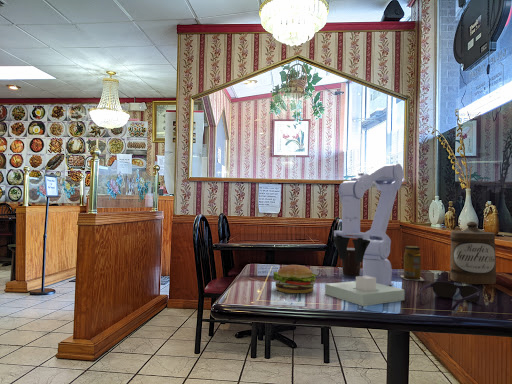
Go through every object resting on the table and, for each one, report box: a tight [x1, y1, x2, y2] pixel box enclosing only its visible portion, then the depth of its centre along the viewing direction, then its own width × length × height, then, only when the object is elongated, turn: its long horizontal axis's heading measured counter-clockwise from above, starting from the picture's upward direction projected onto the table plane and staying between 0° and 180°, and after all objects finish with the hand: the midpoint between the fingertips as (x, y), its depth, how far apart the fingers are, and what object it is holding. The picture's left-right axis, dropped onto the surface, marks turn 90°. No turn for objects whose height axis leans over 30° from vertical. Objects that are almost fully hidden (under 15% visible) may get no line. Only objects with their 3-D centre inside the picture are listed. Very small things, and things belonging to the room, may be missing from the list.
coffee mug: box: [341, 247, 362, 277], centre depth 156 cm, size 12×9×10 cm
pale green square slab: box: [324, 280, 405, 307], centre depth 117 cm, size 16×16×3 cm
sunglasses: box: [419, 280, 481, 311], centre depth 111 cm, size 14×16×5 cm
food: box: [273, 264, 318, 295], centre depth 126 cm, size 14×14×8 cm
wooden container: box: [449, 221, 497, 285], centre depth 147 cm, size 15×15×22 cm
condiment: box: [400, 245, 425, 282], centre depth 150 cm, size 7×8×12 cm
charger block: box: [355, 275, 376, 292], centre depth 113 cm, size 4×4×6 cm
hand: (350, 260), depth 126 cm, fingers open, 7 cm apart
